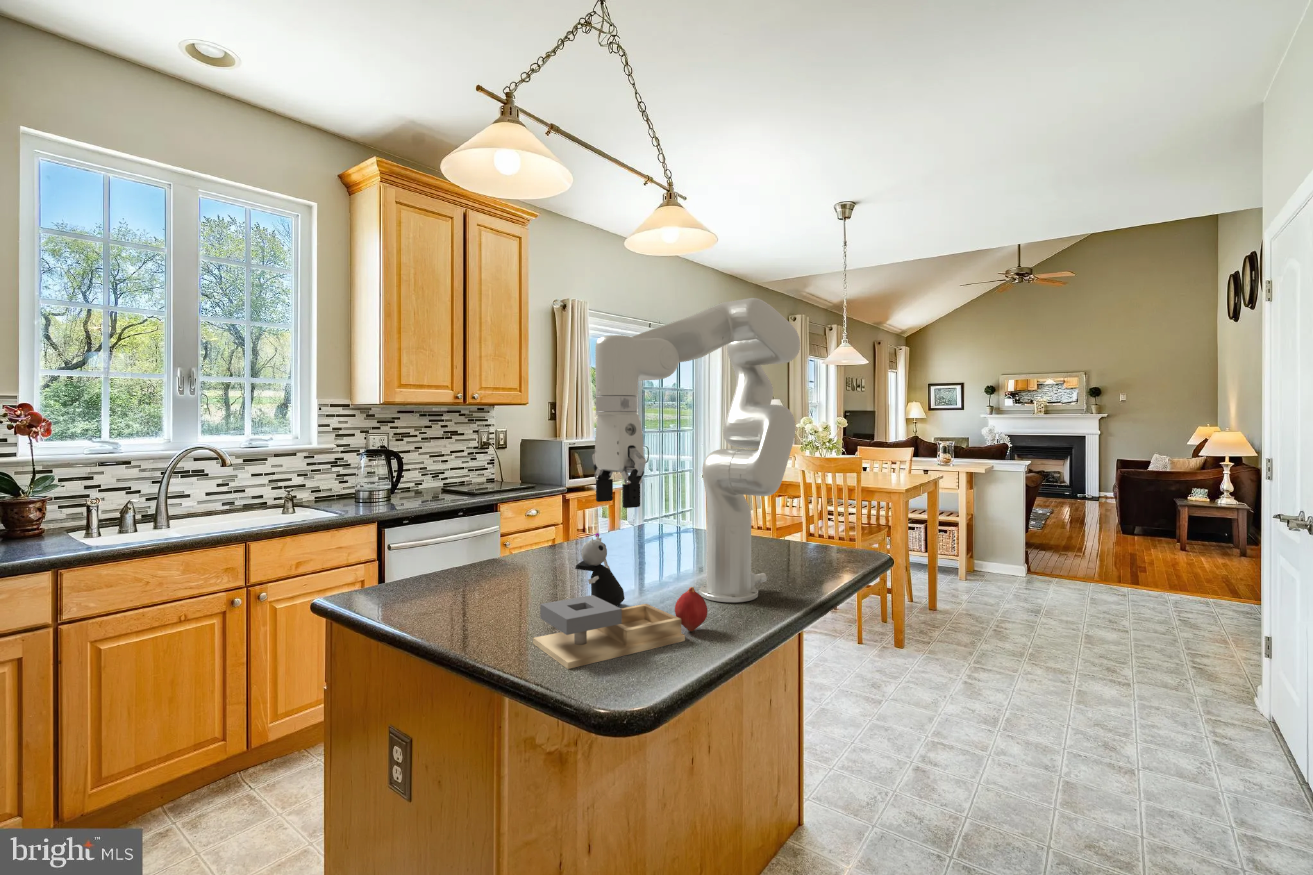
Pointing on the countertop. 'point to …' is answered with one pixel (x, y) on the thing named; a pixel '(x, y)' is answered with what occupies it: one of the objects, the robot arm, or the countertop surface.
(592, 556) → the toy
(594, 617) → the gray holed slab
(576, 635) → the wooden tray
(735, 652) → the countertop surface
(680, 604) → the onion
